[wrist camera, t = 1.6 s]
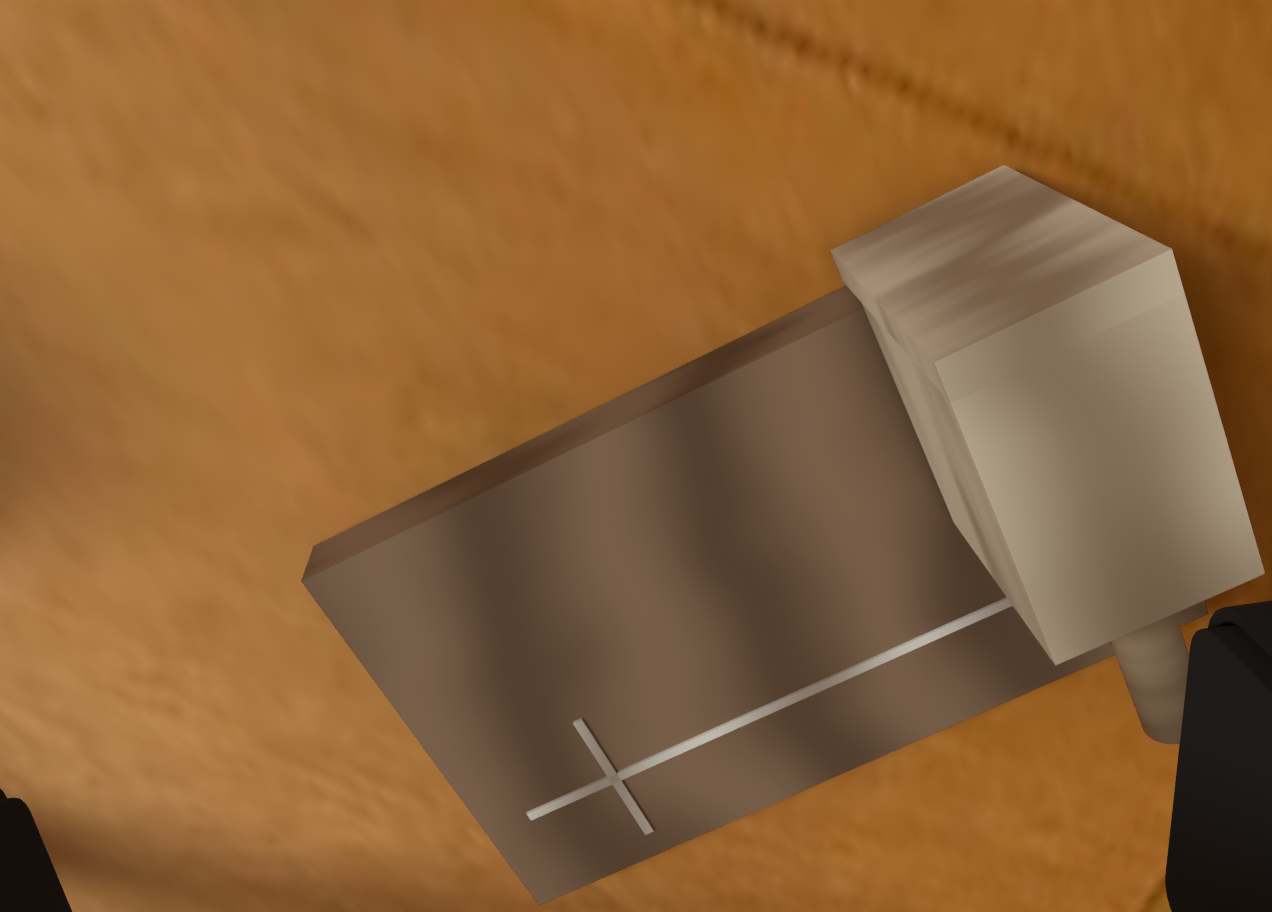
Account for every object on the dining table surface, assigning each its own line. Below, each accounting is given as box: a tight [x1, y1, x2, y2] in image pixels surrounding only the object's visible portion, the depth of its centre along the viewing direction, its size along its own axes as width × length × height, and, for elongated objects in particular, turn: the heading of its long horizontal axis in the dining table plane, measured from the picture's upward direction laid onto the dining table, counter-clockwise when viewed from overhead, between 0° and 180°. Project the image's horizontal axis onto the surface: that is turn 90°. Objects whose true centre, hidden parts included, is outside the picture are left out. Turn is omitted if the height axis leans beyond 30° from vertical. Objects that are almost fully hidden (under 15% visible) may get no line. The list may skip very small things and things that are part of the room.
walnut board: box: [301, 286, 1209, 906], centre depth 35 cm, size 23×14×2 cm, turn 116°
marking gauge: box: [831, 165, 1265, 744], centre depth 29 cm, size 5×13×9 cm, turn 26°
